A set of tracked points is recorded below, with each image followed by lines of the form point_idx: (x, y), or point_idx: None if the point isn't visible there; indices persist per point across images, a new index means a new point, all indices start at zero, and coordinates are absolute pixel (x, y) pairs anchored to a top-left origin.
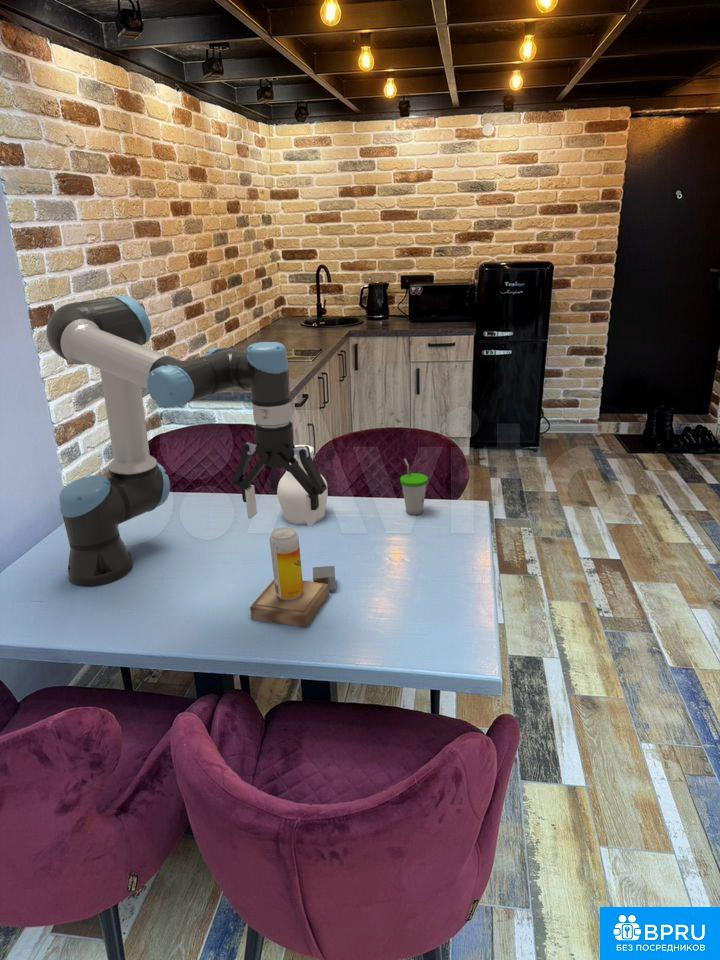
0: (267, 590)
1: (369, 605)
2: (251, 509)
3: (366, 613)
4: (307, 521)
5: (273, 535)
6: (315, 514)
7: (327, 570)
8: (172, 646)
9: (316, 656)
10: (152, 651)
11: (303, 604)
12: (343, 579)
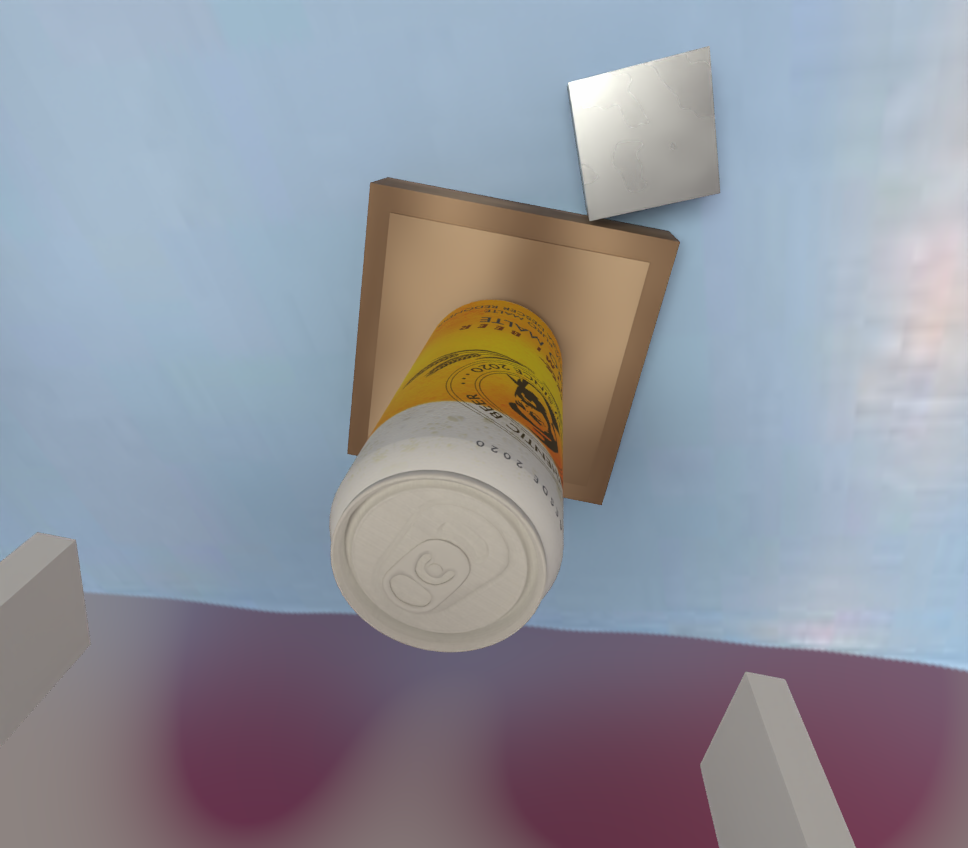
0: (374, 324)
1: (873, 305)
2: (17, 700)
3: (852, 370)
4: (712, 811)
5: (363, 589)
6: (811, 748)
7: (667, 118)
8: (175, 575)
9: (655, 614)
10: (133, 595)
11: (577, 438)
12: (738, 42)
